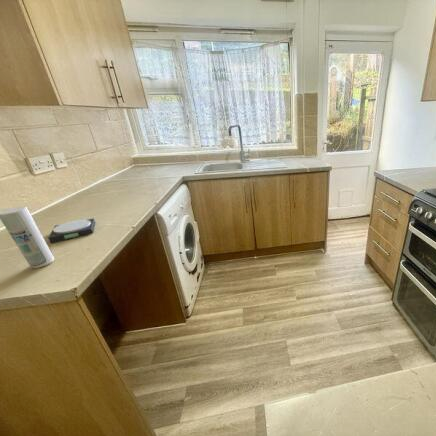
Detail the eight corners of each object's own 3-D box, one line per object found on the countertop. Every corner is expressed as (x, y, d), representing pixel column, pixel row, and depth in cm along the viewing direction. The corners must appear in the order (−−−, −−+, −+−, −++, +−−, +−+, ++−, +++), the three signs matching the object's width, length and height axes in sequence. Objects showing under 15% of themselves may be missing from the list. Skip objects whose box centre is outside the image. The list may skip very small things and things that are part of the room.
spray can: (24, 269, 82) (-10, 215, 73) (39, 258, 88) (9, 207, 79) (46, 266, 83) (15, 213, 74) (59, 256, 88) (31, 205, 80)
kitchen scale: (50, 243, 98) (46, 236, 97) (57, 230, 109) (54, 224, 108) (93, 234, 105) (90, 227, 104) (95, 222, 116) (93, 216, 115)
